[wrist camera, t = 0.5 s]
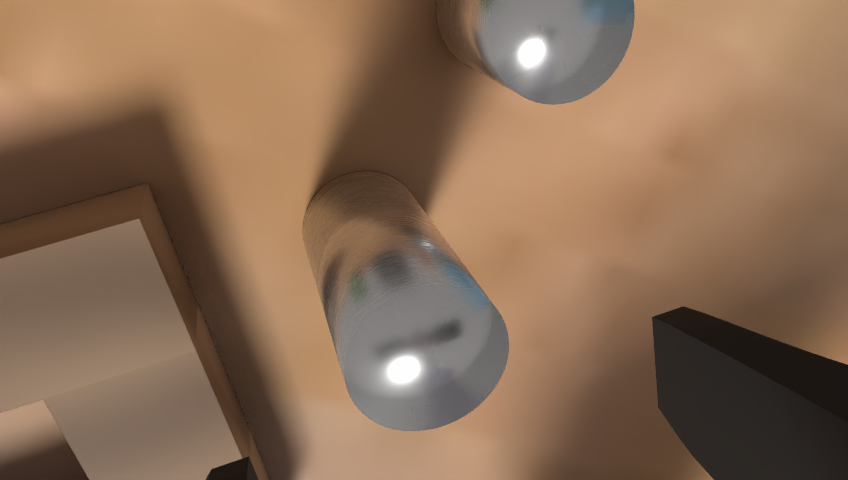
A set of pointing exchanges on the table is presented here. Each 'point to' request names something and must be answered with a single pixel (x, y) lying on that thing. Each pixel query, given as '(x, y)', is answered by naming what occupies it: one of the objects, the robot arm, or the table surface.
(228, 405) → the socket block
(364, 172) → the long pin
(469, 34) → the short pin
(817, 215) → the table surface
